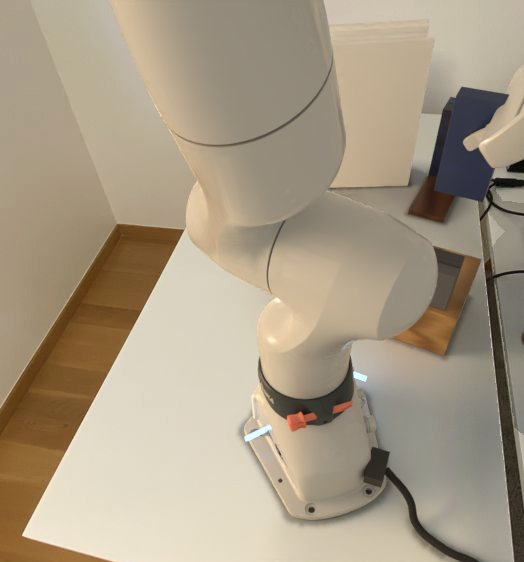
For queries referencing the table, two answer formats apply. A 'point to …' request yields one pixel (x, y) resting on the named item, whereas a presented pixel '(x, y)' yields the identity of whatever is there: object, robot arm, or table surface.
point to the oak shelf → (443, 313)
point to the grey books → (446, 277)
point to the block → (380, 98)
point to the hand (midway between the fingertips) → (470, 136)
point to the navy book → (456, 158)
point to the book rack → (435, 177)
